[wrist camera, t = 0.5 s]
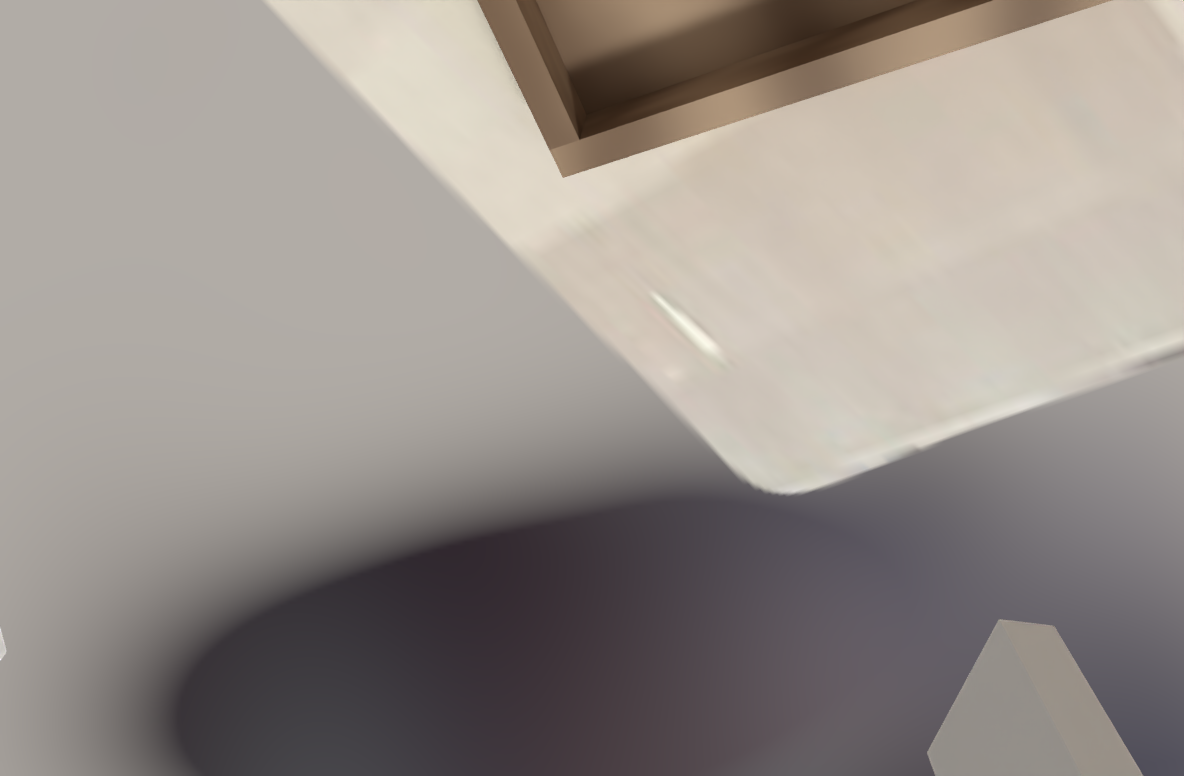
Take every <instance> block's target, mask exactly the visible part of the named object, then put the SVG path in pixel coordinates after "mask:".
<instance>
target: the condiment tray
mask: <svg viewBox="0 0 1184 776" xmlns="http://www.w3.org/2000/svg"><path fill="white" fill-rule="evenodd" d="M1108 1H1111V0H478V2H479V4H480V6H481V8H482V11H483V13H484V15H485V17H486V19H487V21H488V23H489V25H490V27H491V29H492V31H493V33H494V35H495V38H496V40H497V42H498V44H499V46H500V48H501V50H502V52H503V54H504V56H505V58H506V60H507V62H508V65H509V67H510V69H511V71H512V73H513V75H514V77H515V79H516V81H517V83H518V85H519V87H520V89H521V92H522V94H523V96H524V98H525V100H526V102H527V104H528V106H529V108H530V110H531V112H532V114H533V116H534V119H535V121H536V123H537V125H538V127H539V129H540V131H541V133H542V135H543V137H544V139H545V141H546V143H547V146H548V148H549V150H550V152H551V154H552V156H553V158H554V160H555V162H556V164H557V166H558V168H559V170H560V173H561V175H562V177H563V178H564V177H567V176H570V175H573V174H576V173H579V172H582V171H586V170H589V169H592V168H595V167H598V166H601V165H604V164H607V163H610V162H613V161H616V160H620V159H623V158H626V157H629V156H632V155H635V154H638V153H641V152H644V151H647V150H650V149H654V148H657V147H660V146H663V145H666V144H669V143H672V142H675V141H678V140H681V139H684V138H688V137H691V136H694V135H697V134H700V133H703V132H706V131H709V130H712V129H715V128H718V127H722V126H725V125H728V124H731V123H734V122H737V121H740V120H743V119H746V118H749V117H752V116H756V115H759V114H762V113H765V112H768V111H771V110H774V109H777V108H780V107H783V106H786V105H790V104H793V103H796V102H799V101H802V100H805V99H808V98H811V97H814V96H817V95H820V94H824V93H827V92H830V91H833V90H836V89H839V88H842V87H845V86H848V85H851V84H854V83H858V82H861V81H864V80H867V79H870V78H873V77H876V76H879V75H882V74H885V73H888V72H892V71H895V70H898V69H901V68H904V67H907V66H910V65H913V64H916V63H919V62H922V61H926V60H929V59H932V58H935V57H938V56H941V55H944V54H947V53H950V52H953V51H956V50H960V49H963V48H966V47H969V46H972V45H975V44H978V43H981V42H984V41H987V40H991V39H994V38H997V37H1000V36H1003V35H1006V34H1009V33H1012V32H1015V31H1018V30H1021V29H1025V28H1028V27H1031V26H1034V25H1037V24H1040V23H1043V22H1046V21H1049V20H1052V19H1055V18H1059V17H1062V16H1065V15H1068V14H1071V13H1074V12H1077V11H1080V10H1083V9H1086V8H1089V7H1093V6H1096V5H1099V4H1102V3H1105V2H1108Z"/></svg>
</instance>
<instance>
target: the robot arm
mask: <svg viewBox="0 0 1184 776" xmlns="http://www.w3.org/2000/svg"><path fill="white" fill-rule="evenodd" d="M5 654H6V648H5V644H4V640H3V636H2V632H1V628H0V660H1V659H2V658H3V656H4V655H5ZM927 754H928V757H929V760H930V762H931V765H932V768H933V770H934V773H935V776H1143V775H1142V773H1141V771H1140V770H1139V768H1138V766H1137V765H1136V763H1135V761H1134V760H1133V758H1132V756H1131V755H1130V753H1129V751H1128V749H1127V748H1126V746H1125V744H1124V743H1123V741H1122V739H1121V738H1120V736H1119V735H1118V733H1117V731H1116V729H1115V728H1114V726H1113V724H1112V723H1111V721H1110V719H1109V718H1108V716H1107V714H1106V713H1105V711H1104V709H1103V708H1102V706H1101V704H1100V702H1099V701H1098V699H1097V697H1096V696H1095V694H1094V692H1093V691H1092V689H1091V687H1090V686H1089V684H1088V682H1087V681H1086V679H1085V677H1084V676H1083V674H1082V672H1081V671H1080V669H1079V667H1078V665H1077V664H1076V662H1075V660H1074V659H1073V657H1072V656H1071V654H1070V652H1069V650H1068V649H1067V647H1066V645H1065V644H1064V642H1063V640H1062V639H1061V637H1060V635H1059V634H1058V632H1057V630H1056V628H1055V627H1054V626H1051V625H1043V624H1035V623H1026V622H1018V621H1010V620H1001V619H999V620H998V622H997V624H996V626H995V628H994V630H993V632H992V633H991V635H990V637H989V639H988V641H987V642H986V644H985V646H984V648H983V650H982V652H981V654H980V656H979V658H978V659H977V661H976V663H975V665H974V667H973V668H972V670H971V672H970V674H969V676H968V678H967V680H966V681H965V683H964V685H963V687H962V689H961V691H960V693H959V694H958V696H957V698H956V700H955V702H954V704H953V706H952V707H951V709H950V711H949V713H948V715H947V717H946V719H945V720H944V722H943V724H942V726H941V728H940V730H939V731H938V733H937V735H936V737H935V739H934V741H933V743H932V744H931V746H930V748H929V750H928V752H927Z"/></svg>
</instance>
